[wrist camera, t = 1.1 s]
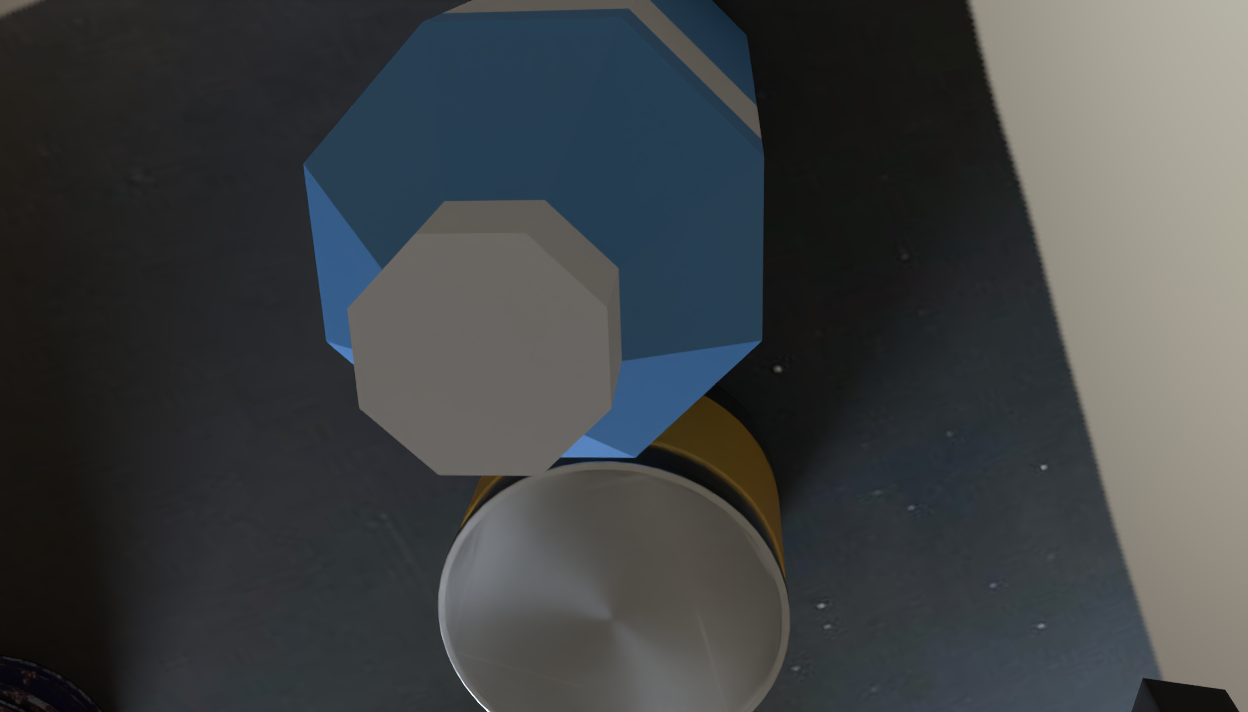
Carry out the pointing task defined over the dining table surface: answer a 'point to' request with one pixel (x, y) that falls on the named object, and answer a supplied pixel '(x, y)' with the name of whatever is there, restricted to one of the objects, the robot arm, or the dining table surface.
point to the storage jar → (38, 690)
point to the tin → (625, 577)
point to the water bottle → (544, 229)
